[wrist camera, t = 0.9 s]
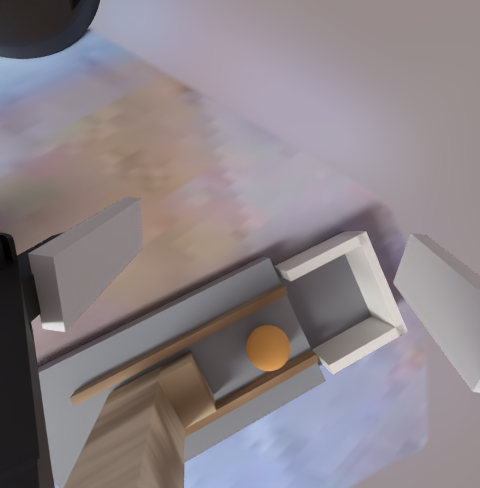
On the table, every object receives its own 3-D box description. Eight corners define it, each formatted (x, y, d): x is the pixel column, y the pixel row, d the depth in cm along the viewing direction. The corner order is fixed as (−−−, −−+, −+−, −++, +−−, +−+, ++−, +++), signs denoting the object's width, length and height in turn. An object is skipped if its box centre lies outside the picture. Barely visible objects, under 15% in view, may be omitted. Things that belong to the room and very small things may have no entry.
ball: (236, 331, 29) (243, 347, 25) (272, 312, 30) (285, 324, 26) (253, 367, 30) (263, 388, 26) (288, 347, 30) (304, 365, 26)
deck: (18, 377, 28) (2, 391, 26) (263, 255, 32) (269, 257, 30) (88, 498, 30) (80, 522, 27) (315, 370, 33) (325, 380, 31)
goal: (271, 267, 32) (284, 273, 28) (343, 231, 33) (366, 231, 29) (312, 357, 33) (330, 375, 29) (380, 318, 35) (407, 331, 30)
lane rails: (74, 390, 27) (69, 398, 26) (281, 284, 30) (285, 286, 29) (117, 466, 28) (114, 477, 27) (314, 356, 31) (319, 361, 30)
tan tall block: (106, 392, 27) (9, 582, 12) (190, 348, 28) (192, 474, 14) (133, 442, 28) (72, 681, 13) (214, 397, 29) (243, 570, 14)
